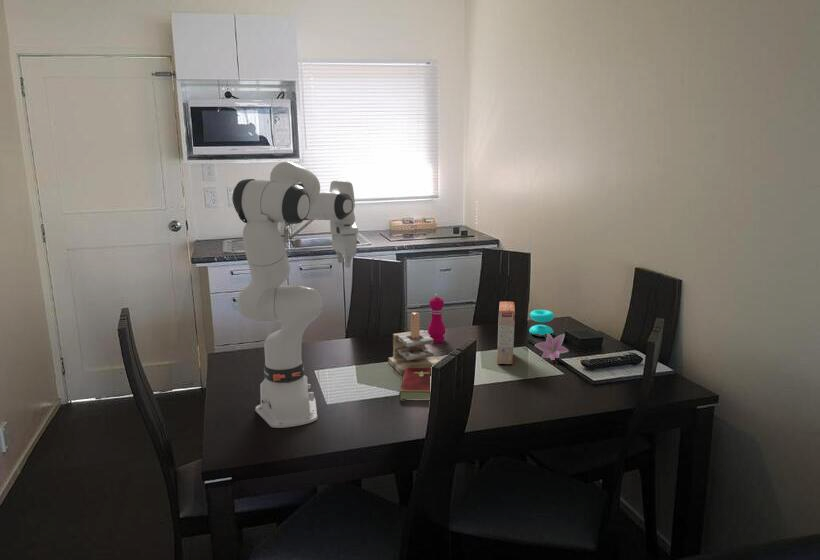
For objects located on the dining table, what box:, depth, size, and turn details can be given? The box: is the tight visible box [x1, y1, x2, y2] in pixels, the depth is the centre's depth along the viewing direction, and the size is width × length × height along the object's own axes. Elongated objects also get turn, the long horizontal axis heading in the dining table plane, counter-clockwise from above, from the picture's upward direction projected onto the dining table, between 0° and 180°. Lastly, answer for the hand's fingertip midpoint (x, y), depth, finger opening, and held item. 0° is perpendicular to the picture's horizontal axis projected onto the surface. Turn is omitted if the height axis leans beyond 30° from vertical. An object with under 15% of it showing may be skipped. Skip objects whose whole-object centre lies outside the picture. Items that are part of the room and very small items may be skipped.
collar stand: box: [387, 329, 440, 376], centre depth 230 cm, size 14×16×11 cm
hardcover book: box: [398, 367, 431, 400], centre depth 210 cm, size 12×21×4 cm, turn 175°
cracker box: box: [496, 301, 516, 365], centre depth 235 cm, size 14×6×21 cm, turn 171°
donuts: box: [529, 309, 555, 335], centre depth 265 cm, size 10×10×10 cm
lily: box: [534, 333, 570, 361], centre depth 236 cm, size 12×12×10 cm
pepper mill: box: [427, 293, 446, 344], centre depth 257 cm, size 7×7×20 cm
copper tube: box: [410, 311, 421, 362], centre depth 229 cm, size 3×3×18 cm
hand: (343, 265), depth 225 cm, fingers open, 8 cm apart
